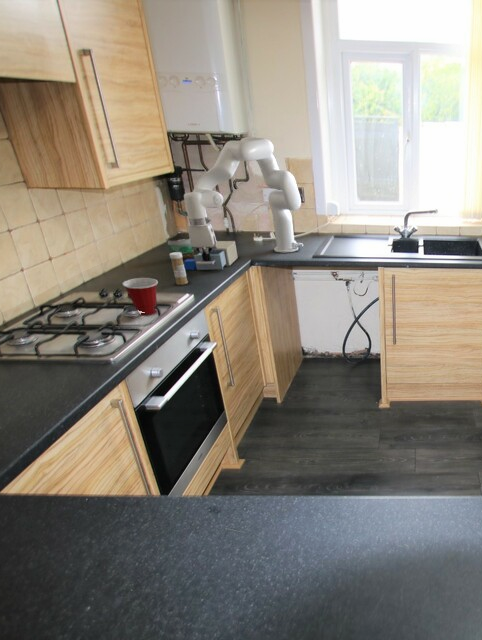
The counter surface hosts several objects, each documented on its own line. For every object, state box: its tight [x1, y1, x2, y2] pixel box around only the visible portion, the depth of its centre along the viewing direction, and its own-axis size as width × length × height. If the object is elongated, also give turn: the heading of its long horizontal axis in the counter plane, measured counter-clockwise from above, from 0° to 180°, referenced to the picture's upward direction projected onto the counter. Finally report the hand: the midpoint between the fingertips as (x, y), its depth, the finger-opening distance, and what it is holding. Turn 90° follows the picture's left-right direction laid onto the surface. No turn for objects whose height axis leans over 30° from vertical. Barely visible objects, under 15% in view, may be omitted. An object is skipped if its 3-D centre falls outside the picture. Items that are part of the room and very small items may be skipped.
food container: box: [167, 238, 195, 261], centre depth 236 cm, size 12×6×10 cm, turn 143°
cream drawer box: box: [204, 240, 239, 267], centre depth 233 cm, size 15×13×9 cm
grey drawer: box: [193, 250, 227, 271], centre depth 223 cm, size 18×11×7 cm, turn 8°
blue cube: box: [183, 258, 197, 271], centre depth 223 cm, size 4×4×4 cm
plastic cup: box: [121, 277, 159, 316], centre depth 171 cm, size 11×11×12 cm
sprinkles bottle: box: [169, 252, 189, 286], centre depth 201 cm, size 5×5×13 cm
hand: (207, 261), depth 217 cm, fingers closed
